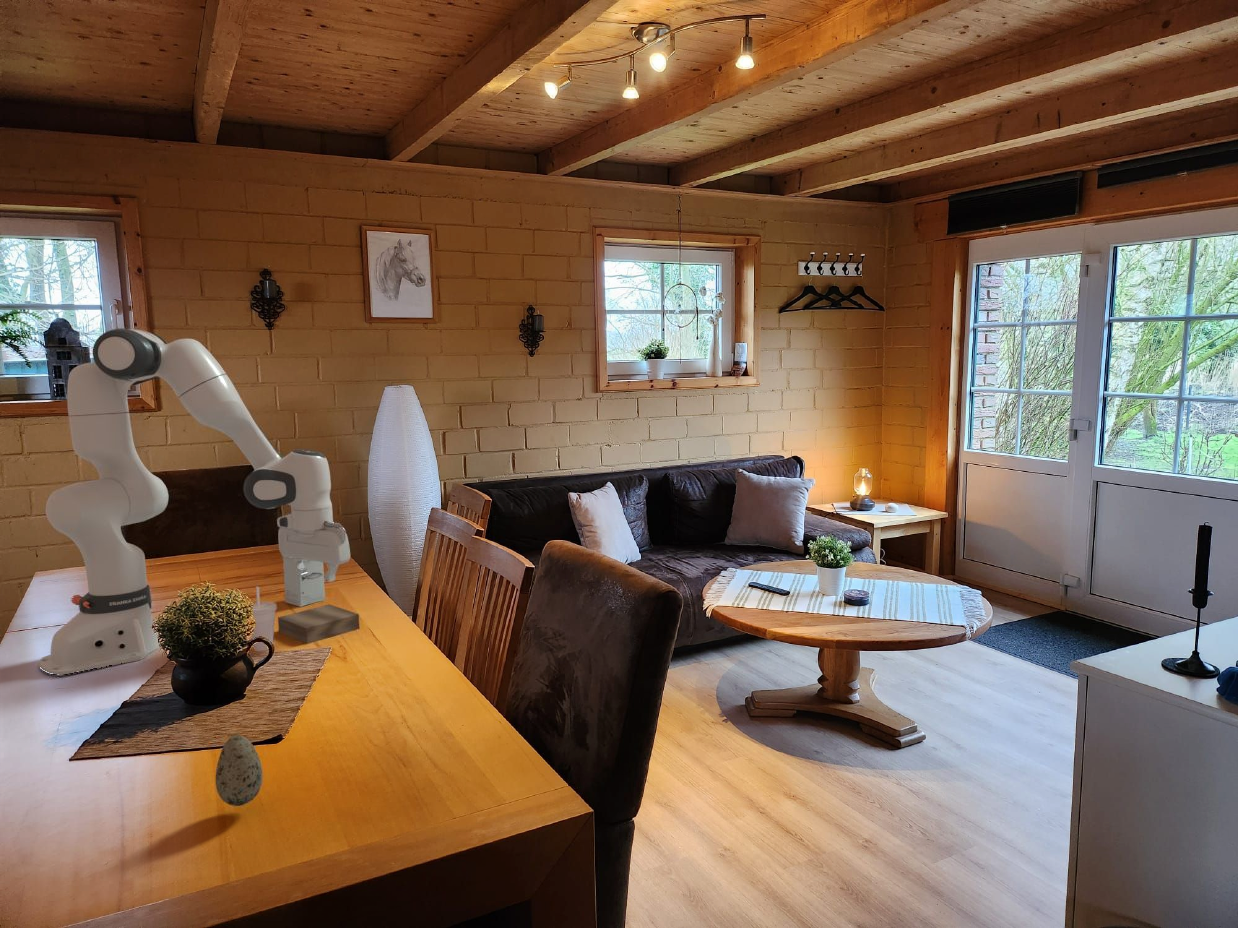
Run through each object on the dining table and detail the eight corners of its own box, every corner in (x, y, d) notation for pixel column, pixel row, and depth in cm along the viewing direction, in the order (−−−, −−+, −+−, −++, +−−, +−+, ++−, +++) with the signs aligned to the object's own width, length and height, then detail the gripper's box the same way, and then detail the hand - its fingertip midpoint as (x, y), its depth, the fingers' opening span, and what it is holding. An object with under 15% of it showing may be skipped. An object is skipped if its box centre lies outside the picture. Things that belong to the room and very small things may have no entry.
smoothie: (240, 650, 174) (236, 588, 173) (265, 642, 180) (261, 581, 178) (261, 655, 171) (257, 591, 170) (285, 646, 177) (282, 584, 175)
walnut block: (307, 645, 178) (306, 628, 178) (279, 633, 187) (277, 617, 186) (359, 630, 188) (358, 614, 188) (330, 620, 197) (329, 604, 196)
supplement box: (300, 607, 206) (297, 559, 204) (284, 602, 210) (281, 555, 209) (326, 600, 212) (323, 553, 210) (310, 596, 216) (307, 550, 215)
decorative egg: (271, 791, 116) (266, 725, 115) (254, 814, 110) (248, 744, 109) (229, 792, 116) (224, 726, 114) (209, 815, 110) (204, 746, 108)
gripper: (355, 521, 182) (358, 580, 184) (294, 514, 192) (298, 570, 194) (332, 526, 176) (336, 587, 178) (271, 518, 187) (275, 576, 188)
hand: (316, 578), depth 186 cm, fingers open, 8 cm apart
